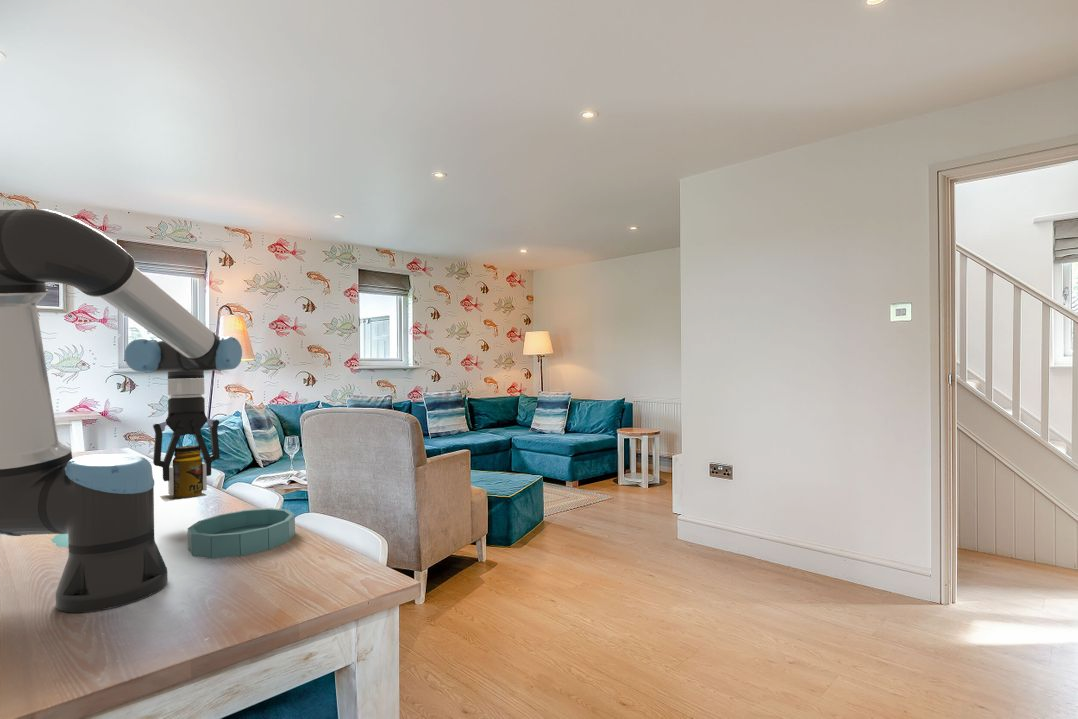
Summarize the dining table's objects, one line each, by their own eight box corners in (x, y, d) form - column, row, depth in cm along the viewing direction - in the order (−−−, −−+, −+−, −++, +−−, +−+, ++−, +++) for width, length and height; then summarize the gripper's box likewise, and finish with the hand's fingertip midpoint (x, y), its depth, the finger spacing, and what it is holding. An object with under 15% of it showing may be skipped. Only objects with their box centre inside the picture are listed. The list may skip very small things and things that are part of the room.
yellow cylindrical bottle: (207, 496, 133) (206, 446, 133) (165, 502, 127) (164, 450, 127) (200, 491, 138) (199, 443, 138) (159, 497, 132) (159, 447, 132)
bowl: (305, 541, 119) (304, 520, 119) (198, 565, 106) (197, 542, 106) (279, 522, 134) (279, 503, 134) (183, 541, 121) (182, 521, 121)
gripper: (227, 394, 142) (228, 483, 142) (136, 398, 130) (137, 496, 130) (233, 394, 137) (235, 488, 136) (139, 398, 124) (140, 501, 124)
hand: (187, 491), depth 133 cm, fingers closed on yellow cylindrical bottle, 6 cm apart
